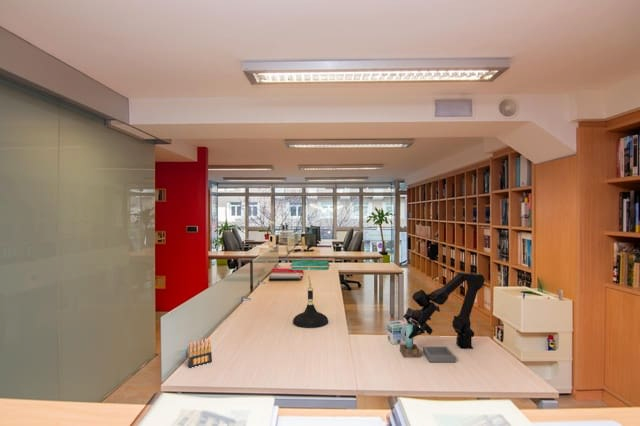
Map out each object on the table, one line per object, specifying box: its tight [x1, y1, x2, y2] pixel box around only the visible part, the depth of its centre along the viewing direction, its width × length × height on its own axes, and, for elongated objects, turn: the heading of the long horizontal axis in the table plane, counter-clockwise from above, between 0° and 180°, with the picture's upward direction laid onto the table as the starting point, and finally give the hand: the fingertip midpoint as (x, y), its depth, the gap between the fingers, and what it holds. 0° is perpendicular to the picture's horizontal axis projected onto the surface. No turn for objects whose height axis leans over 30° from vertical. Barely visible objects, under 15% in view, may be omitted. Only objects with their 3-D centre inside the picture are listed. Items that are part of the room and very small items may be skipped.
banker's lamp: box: [289, 259, 331, 329], centre depth 227 cm, size 26×23×40 cm
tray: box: [422, 346, 456, 364], centre depth 170 cm, size 12×12×3 cm
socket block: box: [399, 343, 421, 358], centre depth 175 cm, size 8×8×4 cm
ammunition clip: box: [187, 337, 213, 369], centre depth 165 cm, size 11×2×12 cm, turn 127°
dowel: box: [405, 324, 414, 349], centre depth 175 cm, size 4×4×13 cm
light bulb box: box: [387, 319, 408, 345], centre depth 192 cm, size 11×7×11 cm, turn 105°
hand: (407, 336), depth 174 cm, fingers closed on dowel, 3 cm apart
